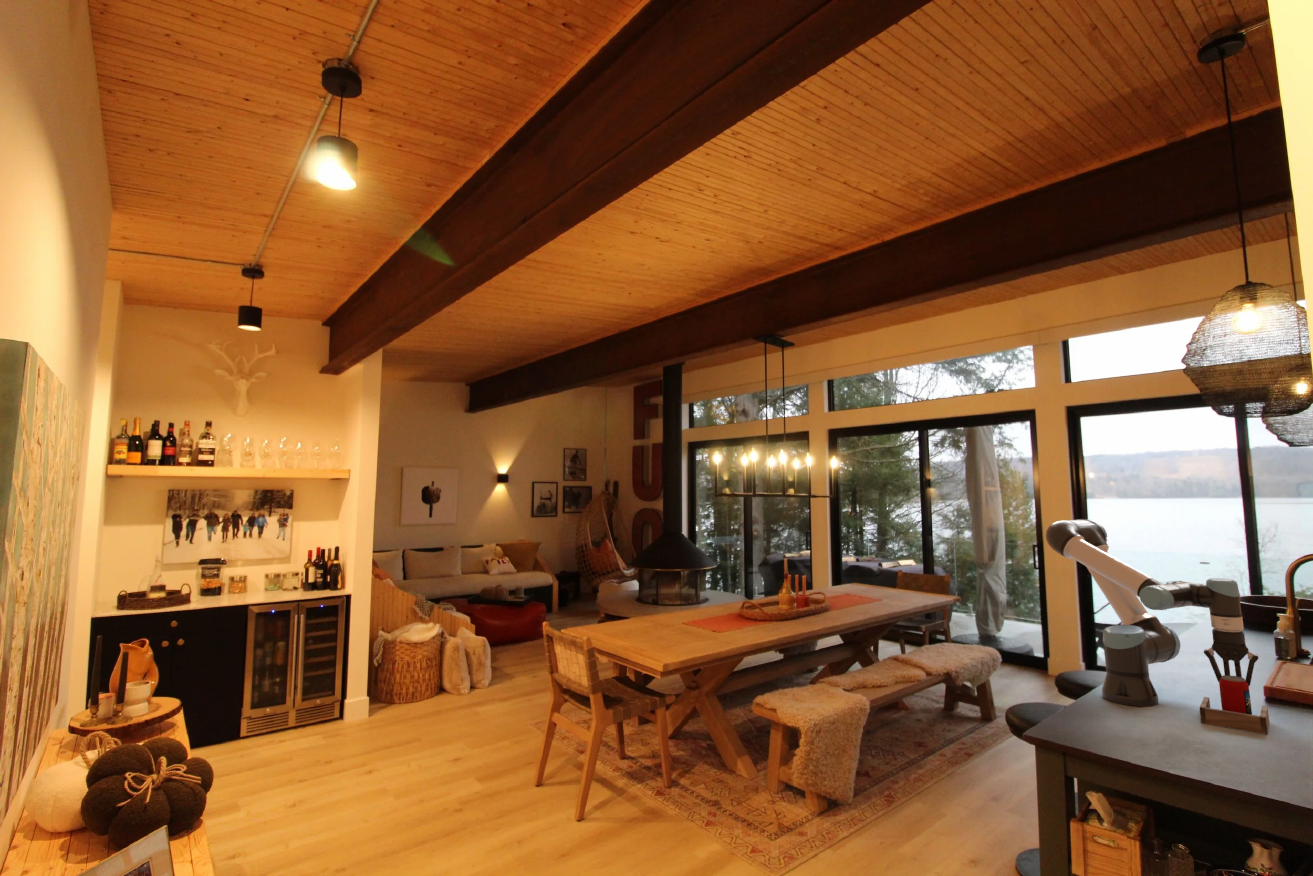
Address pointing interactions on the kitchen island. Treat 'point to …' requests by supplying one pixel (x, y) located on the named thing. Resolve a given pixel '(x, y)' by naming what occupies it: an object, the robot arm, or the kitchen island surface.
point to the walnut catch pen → (1234, 718)
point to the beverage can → (1235, 694)
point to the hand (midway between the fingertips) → (1237, 707)
